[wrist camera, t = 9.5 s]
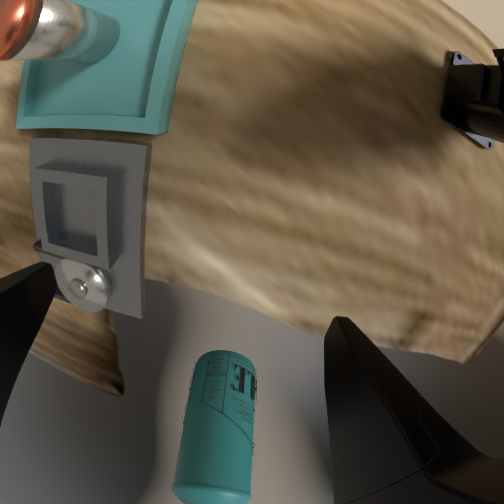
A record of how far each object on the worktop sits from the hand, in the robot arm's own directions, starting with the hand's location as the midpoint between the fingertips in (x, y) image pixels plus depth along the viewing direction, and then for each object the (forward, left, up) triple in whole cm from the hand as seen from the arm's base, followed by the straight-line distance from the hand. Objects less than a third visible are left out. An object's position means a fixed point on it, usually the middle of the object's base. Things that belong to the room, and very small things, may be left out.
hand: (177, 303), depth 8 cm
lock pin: (+12, -10, -12) cm, 20 cm away
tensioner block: (+12, +6, -13) cm, 19 cm away
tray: (+12, -10, -13) cm, 20 cm away
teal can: (-3, +18, -13) cm, 23 cm away
